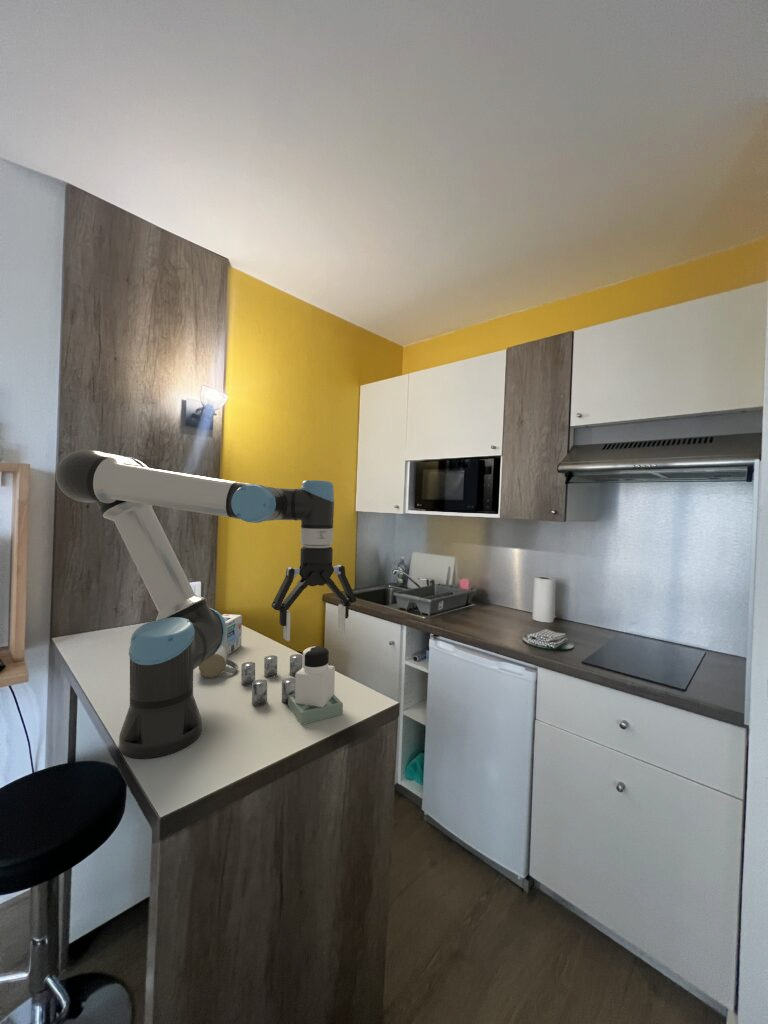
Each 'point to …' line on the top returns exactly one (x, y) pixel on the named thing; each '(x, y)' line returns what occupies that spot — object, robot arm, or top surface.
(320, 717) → the tray
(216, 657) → the ceramic mug
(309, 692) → the medicine bottle
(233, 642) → the light bulb box
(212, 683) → the top surface
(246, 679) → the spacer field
